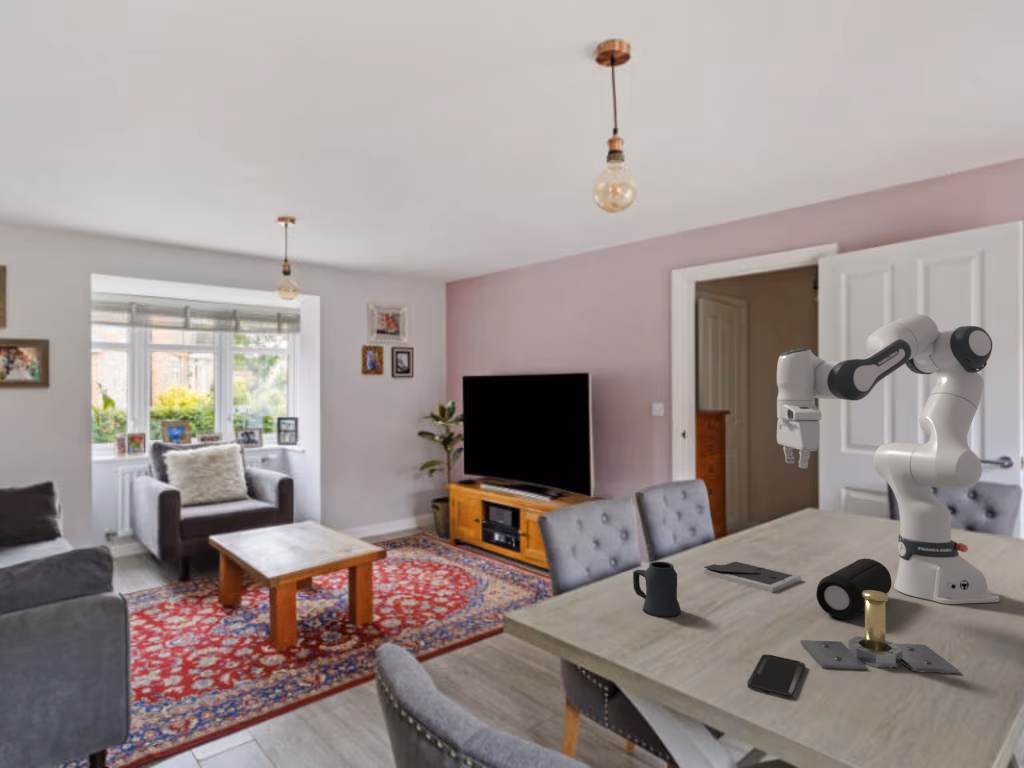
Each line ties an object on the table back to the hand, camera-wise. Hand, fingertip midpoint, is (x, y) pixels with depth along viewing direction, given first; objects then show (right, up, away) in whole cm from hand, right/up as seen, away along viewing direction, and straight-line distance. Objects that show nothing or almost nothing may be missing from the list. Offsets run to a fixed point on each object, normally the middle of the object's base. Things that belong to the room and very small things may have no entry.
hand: (796, 465), depth 154 cm
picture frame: (-5, -35, +17) cm, 39 cm away
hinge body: (-1, -34, -34) cm, 48 cm away
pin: (-1, -34, -34) cm, 48 cm away
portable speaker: (+12, -34, -6) cm, 37 cm away
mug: (-38, -35, -7) cm, 52 cm away
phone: (-24, -35, -42) cm, 59 cm away
